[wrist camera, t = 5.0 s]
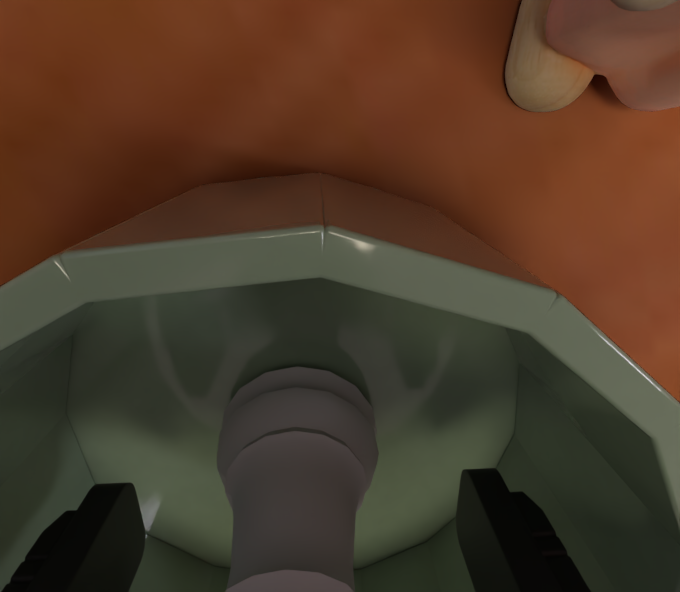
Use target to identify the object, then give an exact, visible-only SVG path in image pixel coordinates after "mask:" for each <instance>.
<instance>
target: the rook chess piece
mask: <svg viewBox="0 0 680 592" xmlns="http://www.w3.org/2000/svg"><path fill="white" fill-rule="evenodd" d="M376 434H377V429H376V424H375V419H374V414H373V408H372V406H371V405H370V404H369V402H368V401H367V400H366V399H365V397H364V396H363V395H362V393H361V392H360V391H359V389H358V388H357V387H356V386H355V385H353V384H351V383H350V382H348V381H346V380H344V379H343V378H341V377H339V376H337V375H335V374H334V373H332V372H330V371H325V370H318V369H312V368H305V367H299V366H296V367H291V368H286V369H281V370H276V371H271V372H266V373H264V374H262V375H261V376H259V377H257V378H256V379H254V380H253V381H251V382H249V383H248V384H246V385H244V386H243V387H241V388H240V389H239V390H238V392H237V393H236V394H235V396H234V397H233V399H232V400H231V402H230V403H229V405H228V406H227V408H226V409H225V410H224V415H223V423H222V430H221V432H220V435H219V443H218V451H217V458H216V459H217V470H218V472H219V475H220V477H221V480H222V483H223V485H224V488H225V493H226V496H227V499H228V501H229V504H230V506H231V509H232V511H233V536H232V554H231V569H230V574H229V579H228V584H227V589H226V591H225V592H355V585H354V573H353V556H354V538H355V520H356V512H357V511H358V510H359V509H360V508H361V506H362V503H363V499H364V496H365V493H366V491H367V490H368V489H369V488H370V485H371V482H372V479H373V475H374V472H375V468H376V465H377V460H378V455H379V452H378V447H377V442H376Z"/></svg>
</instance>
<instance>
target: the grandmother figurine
mask: <svg viewBox="0 0 680 592" xmlns="http://www.w3.org/2000/svg"><path fill="white" fill-rule="evenodd" d="M595 74H599V75H603V76H605V77H606V78H607V80H608V83H609V85H610V87H611V88H612V90H613V92H614V94H615V95H616V97H617V98H618V99H619V100H620V101H621V103H623V104H625V105H626V106H628V107H629V108H632V109H636V110H640V111H650V112H653V111H658V110H664V109H668V108H674V107H679V106H680V0H522V2H521V5H520V9H519V13H518V17H517V21H516V25H515V29H514V33H513V38H512V41H511V45H510V50H509V54H508V58H507V63H506V68H505V82H506V86H507V90H508V94H509V96H510V97H511V98H512V100H513V101H514V102H515V104H516V105H518V106H519V107H521V108H523V109H525V110H527V111H532V112H550V111H555V110H559V109H561V108H563V107H565V106H567V105H568V104H570V103H571V102H573V101H574V100H575V99H576V98H577V97H578V96H580V95H581V94H582V93H583V91H584V90H585V89H586V87H587V86H588V84H589V83H590V81H591V80H592V78H593V76H594V75H595Z"/></svg>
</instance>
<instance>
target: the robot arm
mask: <svg viewBox="0 0 680 592" xmlns="http://www.w3.org/2000/svg"><path fill="white" fill-rule="evenodd" d="M456 530H457V537H458V541H459V545H460V548H461V551H462V554H463V557H464V560H465V563H466V566H467V569H468V572H469V575H470V578H471V581H472V584H473V586H474V589H475V592H591V591H590V589H589V588H588V586H587V584H586V582H585V581H584V579H583V577H582V576H581V574H580V572H579V571H578V569H577V567H576V566H575V564H574V562H573V560H572V559H571V557H570V556H568V554H567V550H566V549H565V547H564V545H563V544H562V542H561V540H560V538H559V537H557V536H556V532H555V530H554V528H553V527H552V525H551V523H550V521H549V520H548V518H547V516H546V515H545V513H544V511H543V510H542V509H541V508H540V507H539V506H538V505H537V504H536V503H535V502H534V501H532V500H531V499H530V498H529V497H528V496H527V495H526V494H525V493H524V492H523V491H519V492H510V491H509V489H508V487H507V486H506V484H505V482H504V480H503V478H502V476H501V474H500V473H499V471H498V470H497V469H496V468H484V469H464V470H463V471H462V473H461V478H460V486H459V494H458V503H457V511H456ZM145 540H146V533H145V527H144V522H143V518H142V514H141V510H140V506H139V502H138V498H137V494H136V490H135V486H134V485H133V483H131V482H128V483H104V484H95V485H94V486H93V487H92V488H91V489H90V490H89V492H88V493H87V495H86V496H85V498H84V499H83V501H82V503H81V504H80V506H79V507H78V509H77V510H68V511H65V512H64V513H63V514H62V515H61V516H60V517H59V518H57V519H56V520H55V521H54V522H53V523H52V524H51V525H50V526H48V527H47V528H46V529H45V530H44V531H43V532H42V533H41V535H40V536H39V537H38V539H37V540H36V542H35V543H34V545H33V546H32V548H31V549H30V551H29V552H28V553H27V555H26V556H25V561H24V562H21V564H20V565H19V567H18V568H17V569H16V571H15V572H14V574H13V575H12V577H11V581H10V583H9V584H6V586H5V587H4V588H3V590H2V591H1V592H129V589H130V587H131V584H132V582H133V580H134V577H135V575H136V572H137V570H138V567H139V565H140V563H141V560H142V557H143V553H144V548H145Z"/></svg>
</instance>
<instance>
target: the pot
mask: <svg viewBox="0 0 680 592" xmlns="http://www.w3.org/2000/svg"><path fill="white" fill-rule="evenodd" d="M296 366H299V367H305V368H312V369H318V370H325V371H330V372H332V373H334V374H335V375H337V376H339V377H341V378H343V379H344V380H346V381H348V382H350V383H351V384H353V385H355V386H356V387H357V388H358V389H359V391H360V392H361V393H362V395H363V396H364V397H365V399H366V400H367V401H368V402H369V404H370V405H371V406H372V408H373V414H374V419H375V424H376V429H377V434H376V442H377V447H378V452H379V455H378V460H377V465H376V468H375V472H374V475H373V479H372V482H371V485H370V488H369V489H368V490H367V491H366V493H365V496H364V499H363V503H362V506H361V508H360V509H359V510H358V511H357V512H356V520H355V538H354V556H353V573H354V585H355V592H475V589H474V586H473V584H472V581H471V578H470V575H469V572H468V569H467V566H466V563H465V560H464V557H463V554H462V551H461V548H460V545H459V541H458V537H457V530H456V511H457V503H458V494H459V486H460V478H461V473H462V471H463V470H464V469H484V468H496V469H497V470H498V471H499V473H500V474H501V476H502V478H503V480H504V482H505V484H506V486H507V487H508V489H509V491H510V492H519V491H523V492H524V493H525V494H526V495H527V496H528V497H529V498H530V499H531V500H532V501H534V502H535V503H536V504H537V505H538V506H539V507H540V508H541V509H542V510H543V511H544V513H545V515H546V516H547V518H548V520H549V521H550V523H551V525H552V527H553V528H554V530H555V532H556V536H557V537H559V538H560V540H561V542H562V544H563V545H564V547H565V549H566V550H567V554H568V556H570V557H571V559H572V560H573V562H574V564H575V566H576V567H577V569H578V571H579V572H580V574H581V576H582V577H583V579H584V581H585V582H586V584H587V586H588V588H589V589H590V591H591V592H680V402H679V401H678V400H677V399H676V398H674V397H673V396H672V395H671V394H670V393H669V392H668V391H667V390H666V389H665V388H664V387H662V386H661V385H660V384H659V383H658V382H657V381H656V380H655V379H654V378H653V377H652V376H650V375H649V374H648V373H647V372H646V371H645V370H644V369H643V368H642V367H641V366H640V365H639V364H637V363H636V362H635V361H634V360H633V359H632V358H631V357H630V356H629V355H628V354H627V353H625V352H624V351H623V350H622V349H621V348H620V347H619V346H618V345H617V344H616V343H615V342H613V341H612V340H611V339H610V338H609V337H608V336H607V335H606V334H605V333H604V332H603V331H601V330H600V329H599V328H598V327H597V326H596V325H595V324H594V323H593V322H592V321H591V320H589V319H588V318H587V317H586V316H585V315H584V314H583V313H582V312H581V311H580V310H579V309H578V308H576V307H575V306H574V305H573V304H572V303H571V302H570V301H569V300H568V299H567V298H566V297H564V296H563V295H562V294H561V293H559V292H558V291H556V290H555V289H553V288H552V287H550V286H549V285H547V284H546V283H544V282H543V281H541V280H540V279H538V278H537V277H535V276H534V275H532V274H531V273H529V272H528V271H526V270H525V269H523V268H522V267H520V266H519V265H517V264H516V263H514V262H513V261H511V260H510V259H508V258H507V257H505V256H504V255H502V254H501V253H500V252H498V251H497V250H495V249H494V248H492V247H491V246H489V245H488V244H486V243H485V242H483V241H482V240H480V239H479V238H477V237H476V236H474V235H473V234H471V233H470V232H468V231H467V230H465V229H464V228H462V227H461V226H459V225H458V224H456V223H455V222H453V221H452V220H450V219H449V218H447V217H446V216H444V215H443V214H441V213H440V212H438V211H437V210H435V209H434V208H431V207H430V206H428V205H425V204H422V203H419V202H416V201H412V200H409V199H406V198H403V197H399V196H396V195H393V194H390V193H387V192H385V191H382V190H379V189H377V188H373V187H369V186H365V185H361V184H357V183H354V182H351V181H348V180H345V179H341V178H338V177H335V176H332V175H328V174H325V173H321V174H320V173H318V172H316V173H306V174H297V175H287V176H276V177H259V178H254V179H248V180H240V181H231V182H221V183H212V184H203V185H201V186H197V187H195V188H193V189H191V190H189V191H187V192H184V193H182V194H180V195H178V196H176V197H174V198H172V199H170V200H168V201H165V202H163V203H161V204H159V205H157V206H155V207H153V208H151V209H149V210H146V211H144V212H142V213H140V214H138V215H136V216H134V217H132V218H130V219H127V220H125V221H123V222H121V223H119V224H117V225H115V226H113V227H111V228H108V229H106V230H104V231H102V232H100V233H98V234H96V235H94V236H92V237H89V238H87V239H85V240H83V241H81V242H79V243H77V244H75V245H73V246H70V247H68V248H66V249H64V250H62V251H60V252H58V253H56V254H54V255H52V256H50V257H48V258H47V259H45V260H43V261H42V262H40V263H38V264H36V265H35V266H33V267H31V268H30V269H28V270H26V271H25V272H23V273H21V274H19V275H18V276H16V277H14V278H13V279H11V280H9V281H8V282H6V283H4V284H2V285H1V286H0V592H1V591H2V590H3V588H4V587H5V586H6V584H9V583H10V581H11V577H12V575H13V574H14V572H15V571H16V569H17V568H18V567H19V565H20V564H21V562H24V561H25V556H26V555H27V553H28V552H29V551H30V549H31V548H32V546H33V545H34V543H35V542H36V540H37V539H38V537H39V536H40V535H41V533H42V532H43V531H44V530H45V529H46V528H47V527H48V526H50V525H51V524H52V523H53V522H54V521H55V520H56V519H57V518H59V517H60V516H61V515H62V514H63V513H64V512H65V511H68V510H77V509H78V507H79V506H80V504H81V503H82V501H83V499H84V498H85V496H86V495H87V493H88V492H89V490H90V489H91V488H92V487H93V486H94V485H95V484H104V483H128V482H131V483H133V485H134V486H135V490H136V494H137V498H138V502H139V506H140V510H141V514H142V518H143V522H144V527H145V533H146V540H145V548H144V553H143V557H142V560H141V563H140V565H139V567H138V570H137V572H136V575H135V577H134V580H133V582H132V584H131V587H130V589H129V592H225V591H226V589H227V584H228V579H229V574H230V569H231V554H232V536H233V511H232V509H231V506H230V504H229V501H228V499H227V496H226V493H225V488H224V485H223V483H222V480H221V477H220V475H219V472H218V470H217V459H216V458H217V451H218V443H219V435H220V432H221V430H222V423H223V415H224V410H225V409H226V408H227V406H228V405H229V403H230V402H231V400H232V399H233V397H234V396H235V394H236V393H237V392H238V390H239V389H240V388H241V387H243V386H244V385H246V384H248V383H249V382H251V381H253V380H254V379H256V378H257V377H259V376H261V375H262V374H264V373H266V372H271V371H276V370H281V369H286V368H291V367H296Z"/></svg>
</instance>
